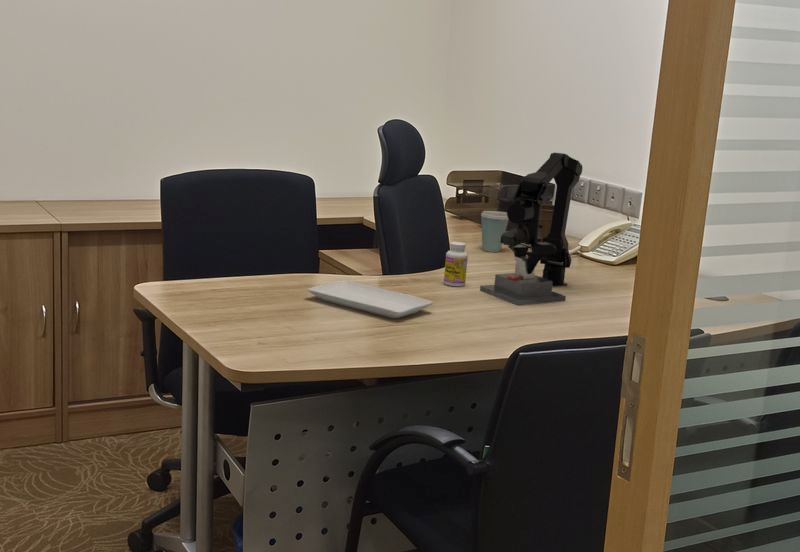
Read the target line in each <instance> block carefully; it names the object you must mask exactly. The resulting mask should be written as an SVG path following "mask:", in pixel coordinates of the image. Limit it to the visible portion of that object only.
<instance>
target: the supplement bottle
mask: <svg viewBox="0 0 800 552" xmlns="http://www.w3.org/2000/svg"><path fill="white" fill-rule="evenodd" d="M449 243H450V244H449V247H450V250H448V251H447V252H446V253H445V263H444V264H445V265H444V272H443V273H444V275H443V284H444V285H445V286H448V287H449V286H450V287H456V288H457V287H458V288H459V287H463V286H465V284H466V279H467V266H468V260H469V259H468V257H469V255H468V253H467V251H465V250H466V245H467V244H466V243H465V242H461V241H460V242H459V241H451V242H449Z"/></svg>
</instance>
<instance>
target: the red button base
mask: <svg viewBox="0 0 800 552" xmlns="http://www.w3.org/2000/svg"><path fill="white" fill-rule="evenodd" d="M552 284H553V281H551V280H548V279H545V278H542V276H539V275H535V274H534V279H530V280H521V279H519V277H516V276H515V272H512V273H497V274H495V278H494V284H488V285H487V284H486V285H480V286H479V291H480V292H482V293H485V294H487V295H489V296H492V297H496V298H499V299H501V300H504V301H505V302H509V303H511V304H513V305H516V306H525V305H537V304H538V305H539V304H546V303H558V302H566V299H567V298H566V295H564V294H562V293H558V292H555V291H553V286H552Z"/></svg>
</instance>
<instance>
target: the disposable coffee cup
mask: <svg viewBox="0 0 800 552" xmlns="http://www.w3.org/2000/svg"><path fill="white" fill-rule="evenodd" d="M480 216H481V217H480V218H481V246H482V247H481V248H482V250H483V251H485V252H490V253H499V252H500V251H501V250H502V246H503V243H500V241H501V236H502V234H503V233H505V232H507V227H508V223H509V221H510V220H509V219H508V217H507V211H506V212H505V211H496V210H495V211H494V210H483V211H482V212H481V214H480Z"/></svg>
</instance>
